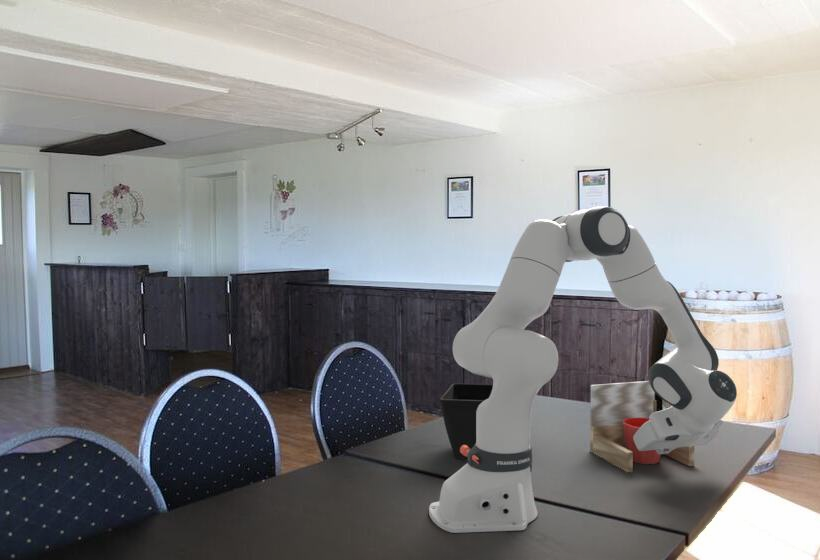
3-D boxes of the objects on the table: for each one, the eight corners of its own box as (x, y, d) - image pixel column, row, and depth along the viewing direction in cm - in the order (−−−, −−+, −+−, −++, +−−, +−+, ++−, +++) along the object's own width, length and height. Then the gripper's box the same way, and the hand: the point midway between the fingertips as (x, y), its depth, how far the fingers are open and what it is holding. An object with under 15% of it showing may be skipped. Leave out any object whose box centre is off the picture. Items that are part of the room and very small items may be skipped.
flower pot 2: (661, 453, 181) (661, 417, 181) (669, 467, 171) (670, 429, 170) (619, 452, 183) (619, 416, 183) (625, 465, 172) (626, 427, 172)
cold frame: (627, 472, 167) (628, 399, 166) (590, 451, 184) (590, 385, 183) (694, 465, 172) (695, 394, 171) (652, 445, 189) (652, 380, 188)
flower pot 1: (439, 462, 176) (439, 397, 175) (452, 441, 194) (452, 382, 193) (514, 468, 171) (514, 401, 170) (520, 445, 189) (520, 385, 188)
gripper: (719, 407, 164) (691, 436, 174) (645, 413, 158) (620, 443, 168) (732, 430, 160) (703, 459, 170) (656, 438, 154) (630, 466, 164)
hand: (661, 451), depth 169 cm, fingers closed
